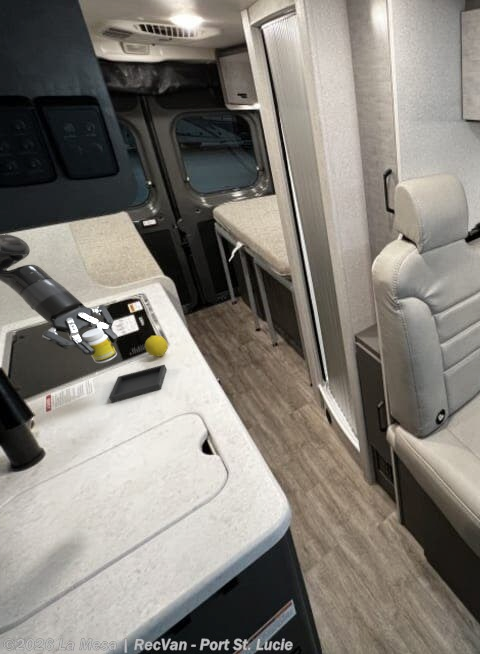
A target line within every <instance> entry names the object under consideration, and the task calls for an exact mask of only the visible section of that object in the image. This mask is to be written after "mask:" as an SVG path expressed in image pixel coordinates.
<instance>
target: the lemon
mask: <svg viewBox="0 0 480 654" xmlns="http://www.w3.org/2000/svg"><path fill="white" fill-rule="evenodd" d="M168 344H169V343H168V342H167V340H166V338H164V337H163V336H161V335H150V337H148V338H147V339H146V340H145V343H144V349H145V351H146V353H147V354H148V355H150V356H152V357H162V356H164V354H166V353H167V351H168V348H169V345H168Z"/></svg>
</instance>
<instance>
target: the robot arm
mask: <svg viewBox="0 0 480 654" xmlns="http://www.w3.org/2000/svg"><path fill="white" fill-rule="evenodd" d="M4 234H5V235H0V282H2V283H4V284H5V285H7V286H8V288H10V289H12V290H13V291H14V292H15V293H16V294H17V295H18V296H19V297H20V298H21V299H23V301H24V302H25V303H26V304H27V305H28V306H29V308H30V309H31V310H33V311H34V312H36V313H37V314H38V315H39V316H40V317H42V318H43V319H44V321H46V322H47V323H48V324H50V326H51V328H49V329H47V330H44V331H42V336H41V337H42V339H43V340H45V341H47V342H49V343H51V344H53V345H55V346H57V347H59V348H61V349H64V350H69V349H71V348H77V349H78V350H79V351H80V352H81V353H83V354H84V355H86V356H88V355H89V356H91V355H93V354H94V353H95V350H94V349H93V348H91V347H90V346H89V345H88V344H87V343H86V342H85V341H84V340H82V338H81V336H80V334H79V333H80V332H81V331H83V330H86V329H88V328H89V329H90V330H91V329H95V328H101V329H102V330H103V332H104V334H106V335H107V336H108V337H109V339H110V341H111V343H112V344H115V343H116V342H117V341H118V334H117V333H115V332H114V331H113V330H112V329H111V328H112V326H113V324H114V321H115V320H114V319H113V317H112V315H111V314H110V312H109V310H108V309H107V306H106V305H105V304H100V305H99V306H98V307H94V308H90V307H88V306H85V305H84V304H83V303H82V301H80V300H79V299H78V298H77V297H76V296H75V295H74V294H73V293H71V292H70V291H69V290H68V289H66V288H65V287H64V286H63V285H62V284H61V283H60V282H57V280H55V279H54V278H53V277H52V276H51V275H49V274H48V273H47V272H46V271H45V270H44V269H42V268H41V267H39V266H38V265H36V264H25V265H21V266H19V267H16V268H15V267H14V268H13V269H9V268H11V267H13V266H15V265H16V264H18V263H19V262H21V261H22V260H24V259H26V258H27V257H29V254H30V252H31V249H30V246H29V245H28V243H27V242H26V241H24V239H21V238H20V237H18V236H15V235H12V234H8V233H4ZM8 269H9V270H8ZM93 314H95V315H96V316H98V317H99V316H100V318H101V320H102V321H103V322H101V321H100V320H99V319H97V318H95V317H93ZM58 332H61V333H65V334H67V335H68V337H69V339H66V338H64V337H63V336H61V335H58Z"/></svg>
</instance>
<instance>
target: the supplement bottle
mask: <svg viewBox="0 0 480 654" xmlns="http://www.w3.org/2000/svg"><path fill="white" fill-rule="evenodd" d="M81 337H82V339H83V341H85V342H86V343H87V344H88V345H89V346H90V347H91V348H93V349H94V350H95V353H94V354H93V355H90V356H91V358H92V359H93V362H94V363H96V364H104V363H107V362H109V361H111V360H113V359H114V358H116V357H117V355H118V352H117V350H116V349H115V346H114V345H113V343H112V342H111V341H110V339H109V337H108V336H107V335H106V334H104V332H103V330H102V329H101V328H95V329H91V328H90V329H89V330H87V331H85V332H83V333H82V335H81Z"/></svg>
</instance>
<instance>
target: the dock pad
mask: <svg viewBox="0 0 480 654" xmlns="http://www.w3.org/2000/svg"><path fill="white" fill-rule="evenodd" d="M167 371H168V369H167V367H166V364H161V365H157V366H154V367H153V366H152V367H150V368H146V369H142V370H138V371H134V372H130V373H127V374H123V375H118V376H117V377H116V380H115V383H114V385H113V387H112V390H111V392H110V394H109V396H108V399H109V401H110V402H111V404H114V403H117V402H121V401H125V400H128V399H132V398H135V397H138V396H143V395H146V394H150V393H152V392H153V393H154V392H156V391H160V390H162V388H163V384H164V381H165V377H166V374H167Z"/></svg>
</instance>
